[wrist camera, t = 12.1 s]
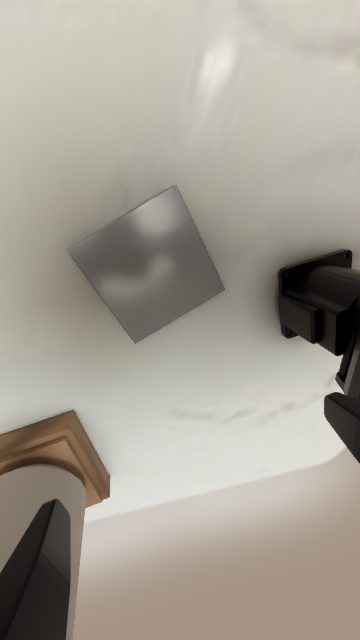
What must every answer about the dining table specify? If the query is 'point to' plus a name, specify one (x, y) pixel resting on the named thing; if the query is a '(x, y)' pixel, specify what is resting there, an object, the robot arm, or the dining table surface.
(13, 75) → the dining table surface
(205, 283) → the slate coaster
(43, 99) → the dining table surface
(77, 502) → the can
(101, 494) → the plinth
